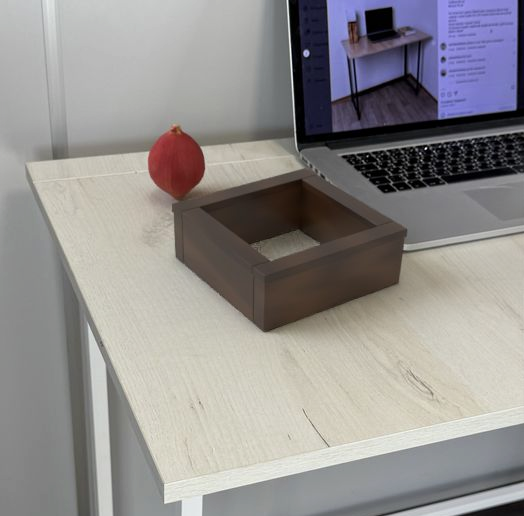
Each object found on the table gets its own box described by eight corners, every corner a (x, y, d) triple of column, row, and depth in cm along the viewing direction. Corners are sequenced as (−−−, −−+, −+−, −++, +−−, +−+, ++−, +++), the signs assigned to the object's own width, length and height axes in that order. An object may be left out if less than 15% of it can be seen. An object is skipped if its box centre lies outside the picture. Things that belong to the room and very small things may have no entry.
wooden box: (302, 218, 88) (305, 167, 85) (401, 283, 78) (408, 228, 75) (173, 256, 81) (171, 203, 78) (263, 333, 72) (265, 276, 68)
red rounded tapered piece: (141, 191, 92) (136, 118, 88) (192, 181, 95) (190, 109, 90) (162, 214, 88) (158, 138, 84) (214, 203, 90) (213, 129, 86)
